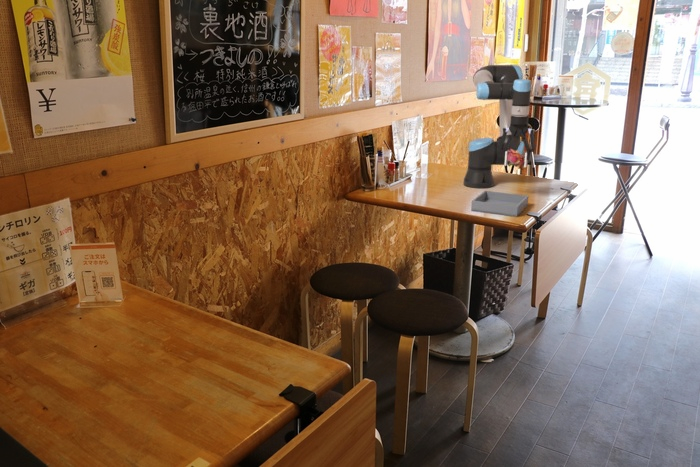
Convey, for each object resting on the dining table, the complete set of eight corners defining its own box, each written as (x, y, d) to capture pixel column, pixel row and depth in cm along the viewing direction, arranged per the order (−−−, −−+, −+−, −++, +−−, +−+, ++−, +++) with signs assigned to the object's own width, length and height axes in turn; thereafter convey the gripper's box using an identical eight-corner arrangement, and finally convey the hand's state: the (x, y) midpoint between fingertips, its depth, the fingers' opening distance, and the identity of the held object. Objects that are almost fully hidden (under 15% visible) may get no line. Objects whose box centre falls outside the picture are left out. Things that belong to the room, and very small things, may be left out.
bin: (471, 210, 248) (471, 200, 247) (484, 200, 265) (485, 190, 263) (516, 217, 239) (517, 206, 238) (527, 205, 256) (528, 195, 254)
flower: (509, 165, 255) (520, 151, 254) (497, 158, 262) (508, 143, 261) (521, 175, 261) (532, 161, 260) (508, 167, 268) (519, 153, 267)
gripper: (494, 115, 256) (490, 165, 264) (542, 117, 247) (537, 169, 254) (498, 113, 263) (495, 162, 270) (545, 115, 253) (540, 166, 260)
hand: (515, 165), depth 262 cm, fingers closed on flower, 8 cm apart
